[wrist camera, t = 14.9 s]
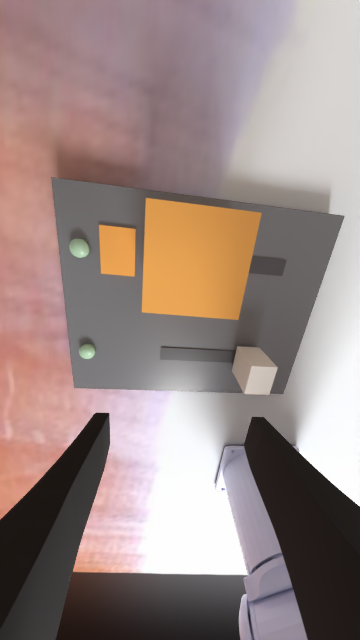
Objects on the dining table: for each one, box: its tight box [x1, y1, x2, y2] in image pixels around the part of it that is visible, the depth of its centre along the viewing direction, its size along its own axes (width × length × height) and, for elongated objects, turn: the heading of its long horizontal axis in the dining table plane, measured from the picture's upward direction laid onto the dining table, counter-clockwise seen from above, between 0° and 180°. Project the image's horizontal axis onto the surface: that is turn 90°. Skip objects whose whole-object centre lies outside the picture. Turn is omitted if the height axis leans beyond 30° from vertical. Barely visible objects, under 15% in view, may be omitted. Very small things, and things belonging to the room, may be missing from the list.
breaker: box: [232, 346, 278, 395], centre depth 16 cm, size 2×2×3 cm
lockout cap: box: [142, 198, 262, 320], centre depth 12 cm, size 5×5×5 cm
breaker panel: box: [51, 177, 344, 394], centre depth 16 cm, size 20×16×2 cm
